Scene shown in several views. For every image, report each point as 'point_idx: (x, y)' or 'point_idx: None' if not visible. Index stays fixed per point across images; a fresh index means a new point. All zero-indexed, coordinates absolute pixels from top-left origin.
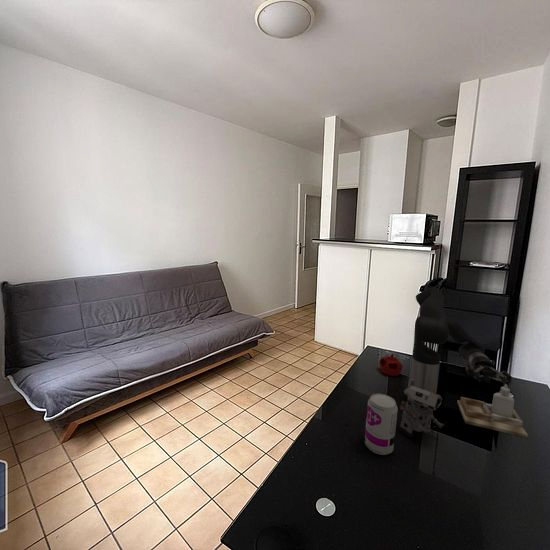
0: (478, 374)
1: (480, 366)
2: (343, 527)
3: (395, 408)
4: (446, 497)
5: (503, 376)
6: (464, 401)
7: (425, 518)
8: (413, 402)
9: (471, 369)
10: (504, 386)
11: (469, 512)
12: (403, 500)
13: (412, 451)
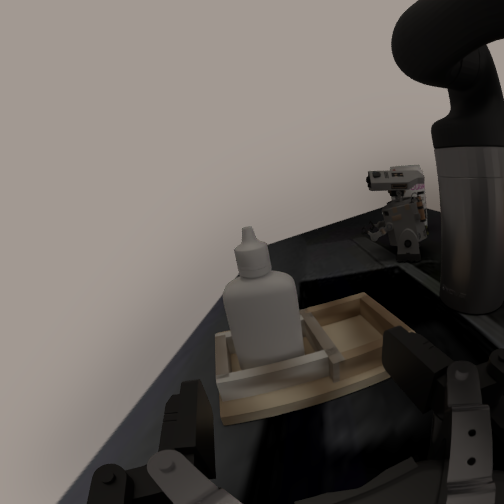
0: (417, 342)
1: (493, 483)
2: (371, 213)
3: (390, 170)
4: (331, 236)
5: (183, 457)
6: (391, 319)
7: (338, 227)
8: (408, 197)
9: (502, 367)
10: (253, 234)
11: (312, 238)
12: (356, 225)
13: (383, 241)
